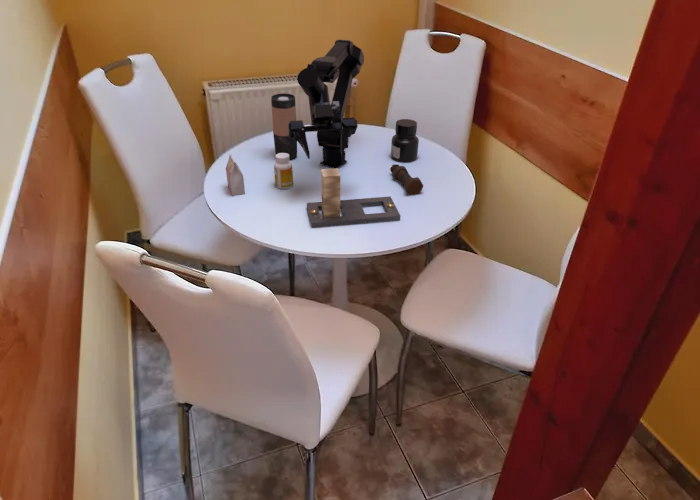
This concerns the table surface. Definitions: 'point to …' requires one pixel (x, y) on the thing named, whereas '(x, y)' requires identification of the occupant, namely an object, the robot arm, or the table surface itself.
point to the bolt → (406, 180)
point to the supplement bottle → (283, 171)
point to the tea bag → (234, 178)
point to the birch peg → (330, 192)
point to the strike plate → (354, 212)
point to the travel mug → (283, 123)
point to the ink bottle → (405, 141)
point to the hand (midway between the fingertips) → (325, 157)
